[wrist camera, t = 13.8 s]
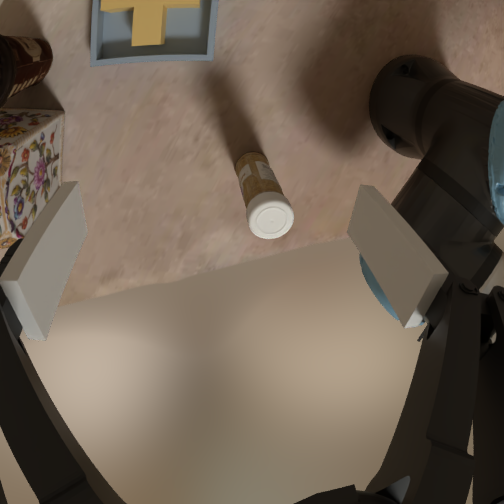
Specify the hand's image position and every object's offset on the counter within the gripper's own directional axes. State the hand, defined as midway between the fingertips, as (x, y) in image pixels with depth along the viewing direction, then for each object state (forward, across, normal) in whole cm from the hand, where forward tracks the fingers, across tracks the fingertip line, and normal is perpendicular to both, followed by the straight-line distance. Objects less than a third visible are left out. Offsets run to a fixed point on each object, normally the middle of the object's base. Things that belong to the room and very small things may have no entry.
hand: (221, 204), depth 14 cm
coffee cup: (+27, +23, -7) cm, 36 cm away
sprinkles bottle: (+27, -6, +9) cm, 29 cm away
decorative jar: (+27, +25, +5) cm, 37 cm away
